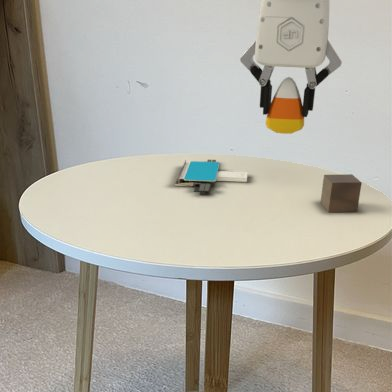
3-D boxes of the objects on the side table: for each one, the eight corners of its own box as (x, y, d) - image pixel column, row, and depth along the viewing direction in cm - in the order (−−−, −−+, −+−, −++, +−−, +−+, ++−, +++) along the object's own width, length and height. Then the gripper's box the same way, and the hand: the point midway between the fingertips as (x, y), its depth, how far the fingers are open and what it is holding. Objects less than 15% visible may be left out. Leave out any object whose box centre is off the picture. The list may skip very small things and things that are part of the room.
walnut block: (348, 202, 93) (352, 174, 91) (357, 211, 89) (361, 182, 87) (320, 203, 93) (323, 174, 90) (328, 212, 89) (332, 182, 86)
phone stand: (245, 196, 95) (246, 186, 94) (171, 193, 96) (171, 183, 95) (247, 164, 112) (248, 155, 111) (184, 162, 113) (184, 153, 112)
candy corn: (303, 131, 95) (308, 76, 91) (303, 135, 92) (309, 78, 88) (265, 129, 96) (269, 74, 92) (264, 133, 93) (268, 77, 89)
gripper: (232, -25, 82) (226, 115, 91) (360, -24, 78) (340, 122, 88) (242, -24, 88) (236, 107, 98) (361, -23, 85) (343, 113, 94)
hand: (285, 113), depth 93 cm, fingers closed on candy corn, 5 cm apart
